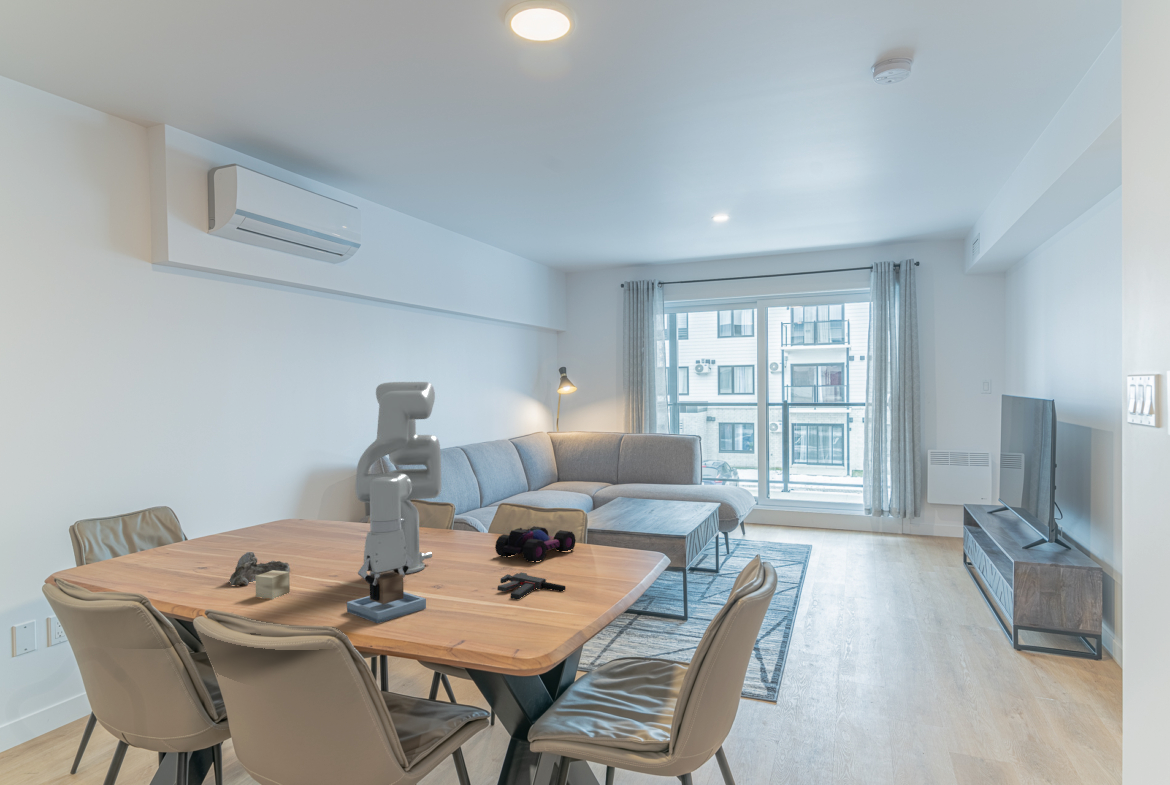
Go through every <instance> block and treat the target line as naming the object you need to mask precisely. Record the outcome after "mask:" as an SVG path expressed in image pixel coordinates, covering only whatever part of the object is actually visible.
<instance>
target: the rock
mask: <svg viewBox="0 0 1170 785" xmlns="http://www.w3.org/2000/svg"><path fill="white" fill-rule="evenodd" d="M257 563H258V558H257V556H256V554H255V552H254V551H247V552H246V553H244V554H242V555H241V556H240V558H239V559H238V560H237V564H236V566H235V570H234V572H233V573H232V574H231V575H230V579H229V580H228V582H229V581H230V582H231V584H230V583H229V586H230V585H244V586H245V585H246V586H249V584H250V583H249V582H253V581H256V576H257V575H260V574H263V573H266V572H269V571H272V570H275V571H285V572H289V573H290V572H291V567H290V564H289V563H288V562H284V561H283V562H282V561H280V560H278V561H276V560H270V561H269V562H266V563H264V562H260V563H258V564H257ZM248 583H249V584H248ZM253 583H254V582H253Z"/></svg>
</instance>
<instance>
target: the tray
mask: <svg viewBox="0 0 1170 785" xmlns="http://www.w3.org/2000/svg"><path fill="white" fill-rule="evenodd" d="M425 609H427V598H425V597H422V596H419V595H415V594H412V593H410V592H406V591H404V598H403V599H399V600H396V601H393V602H389V603H386V604H381V603H378V602H375V601H372V600H370V595H368V596H365V597H361V598H356V599H353V600H350V601H349V600H348V601H347V602H346V613H349V614H350V615H351V614H352V615H353V616H356V617H360V618H362V619H364V620H368V621H370V622H373V623H376V624H381V623H385V622H387V621H388V622H389V621H391V620H393V619H397V618H400V617H403V616H405V615H406V616H407V615H409V614H412V613H415V612H419V611H423V610H425Z"/></svg>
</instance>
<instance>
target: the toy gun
mask: <svg viewBox="0 0 1170 785" xmlns="http://www.w3.org/2000/svg"><path fill="white" fill-rule="evenodd" d="M508 581H509V582H508ZM518 586H521V587H518ZM536 588H537V589H541V588H542V589H543V588H544V590H548V589H552V590H551V591H554V590H559V591H558V592H561V591H563V590H565V591H566V585H562V584H557V583H553V582H552V583H551V582H547V579H546V578H545V577H544V578H542V577H539V576H532V575H528V573H526V572H521V571H520V572H518V573H517V572H516V573H515V574H513V575H511V574H505V575H504V576H502V577H501V578H500V584H499V585H497V591H499V592H509V591H511V590H513V589H514V590H513V591H512V592H510V595H509V596H510V598H514V599H513V600H517V599H520V598H521V597H523V596H524V595H526V594H527V593H529V592H530V593H531V591H532V590H533V591H535V590H537V589H536ZM534 589H535V590H534ZM542 589H541V590H542ZM533 591H532V592H533ZM563 592H564V591H563ZM530 593H529V594H530ZM527 595H528V594H527ZM527 595H526V596H527ZM524 597H525V596H524ZM524 597H523V598H524ZM521 599H522V598H521ZM521 599H520V600H521Z"/></svg>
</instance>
